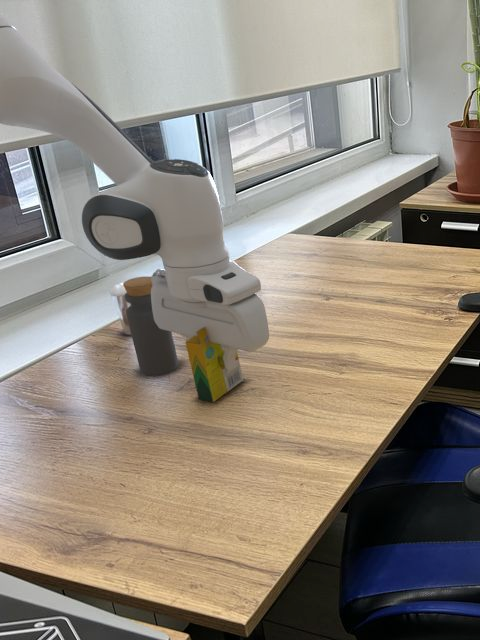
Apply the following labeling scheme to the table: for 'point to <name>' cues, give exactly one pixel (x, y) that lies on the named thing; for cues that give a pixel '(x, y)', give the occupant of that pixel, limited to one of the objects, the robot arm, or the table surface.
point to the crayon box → (210, 368)
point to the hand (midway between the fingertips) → (216, 364)
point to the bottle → (148, 330)
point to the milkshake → (121, 305)
